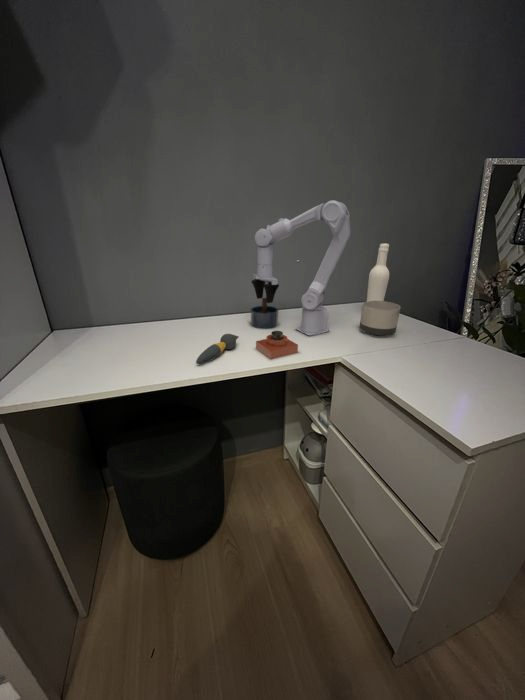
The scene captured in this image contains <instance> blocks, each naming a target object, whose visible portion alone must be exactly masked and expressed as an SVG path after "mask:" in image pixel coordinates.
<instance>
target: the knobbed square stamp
mask: <svg viewBox="0 0 525 700" xmlns="http://www.w3.org/2000/svg"><path fill="white" fill-rule="evenodd" d="M255 349H256V350H257V351H258V352H260V353H261V354H262V355H264V356H265V357H266V358H268V359H270V360H272V359H273V360H274V359H278V358H281V357H286V356H289V355H293V354H297V353H298V352H299V344H297V343H296V342H294V341H292V340H291V339H289V338H288V336H287V335H285V334H283V339H282V340H273V339H271V334H268V335H266V338H265V339H259V340H256V341H255Z"/></svg>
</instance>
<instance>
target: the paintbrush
mask: <svg viewBox="0 0 525 700" xmlns="http://www.w3.org/2000/svg"><path fill="white" fill-rule="evenodd" d="M239 338H240V336H239V335H236V334H232V333H225V334H223V335H222V336H221V337H220V340H219V342H217V343H213V344H211V345H210V346H208V347H207V348H205V349H204V350H203V351H202V352H201V353H200V354H199V355H198V357H197V359H196V361H195V363H196V364H197V365H203V364H205V363H208V362H211V361H212V360H214V359H216V358H217V357H218V356H220V355H221V354H222V353H223V351H224V350H232V349H234V348H235V346H236V344H237V339H239Z"/></svg>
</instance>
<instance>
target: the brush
mask: <svg viewBox="0 0 525 700" xmlns="http://www.w3.org/2000/svg"><path fill="white" fill-rule="evenodd" d="M261 299H262V301H261V306H262V311H260V312H258V313H271V312H269V311H267V306H268V303H267V300H266V297H262V298H261Z"/></svg>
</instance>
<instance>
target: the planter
mask: <svg viewBox="0 0 525 700" xmlns="http://www.w3.org/2000/svg"><path fill="white" fill-rule="evenodd" d="M400 313H401V305H399V304H397V303H395V302H392V301H391V302H390V301H386V300H384V301H367V300H366V301H364V302H362V307H361V313H360V314H361V315H360V318H359V325H358V328H359V329H360V330H361V331H362V332H364V333H365V334H367V335H371V336H375V337H387V336H392V335H394V334H395V333H396V332H397V327H398V323H399V318H400Z"/></svg>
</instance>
